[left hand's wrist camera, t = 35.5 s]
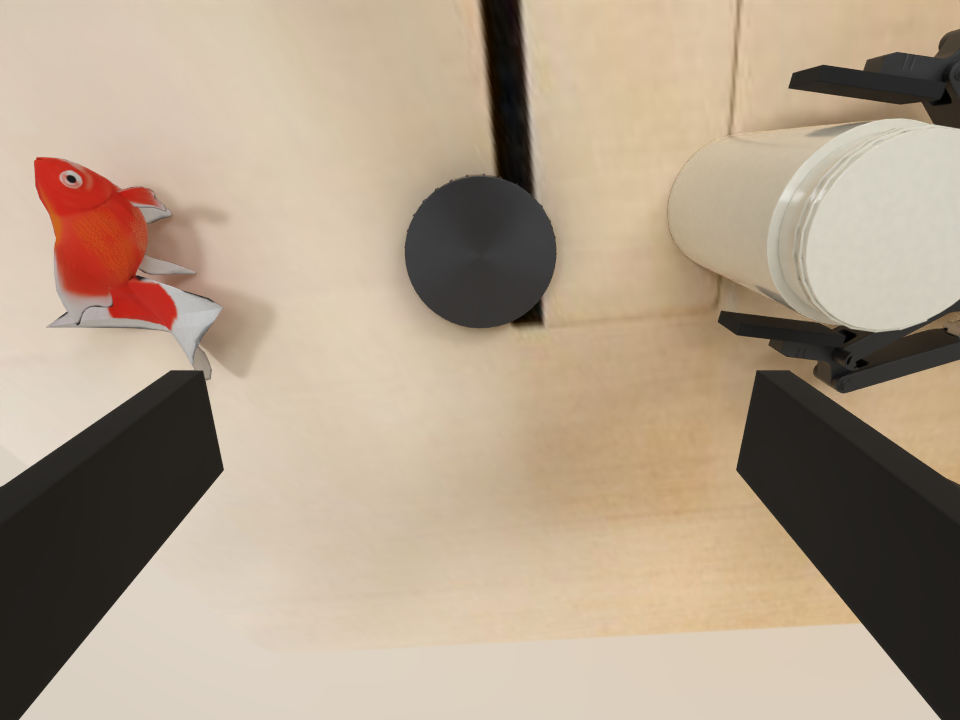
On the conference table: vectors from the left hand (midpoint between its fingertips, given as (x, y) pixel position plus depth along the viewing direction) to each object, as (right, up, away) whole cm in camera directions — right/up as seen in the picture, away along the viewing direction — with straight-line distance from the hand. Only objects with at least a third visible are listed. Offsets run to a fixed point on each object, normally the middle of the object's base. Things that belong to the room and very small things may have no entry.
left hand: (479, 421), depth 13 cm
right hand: (+16, +10, +17) cm, 26 cm away
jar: (+18, +12, +23) cm, 32 cm away
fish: (-22, +8, +25) cm, 34 cm away
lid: (0, +9, +23) cm, 24 cm away
